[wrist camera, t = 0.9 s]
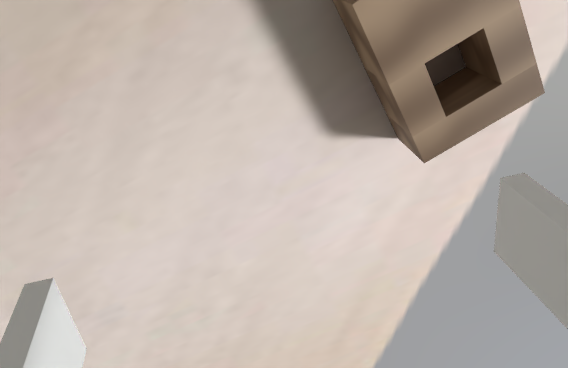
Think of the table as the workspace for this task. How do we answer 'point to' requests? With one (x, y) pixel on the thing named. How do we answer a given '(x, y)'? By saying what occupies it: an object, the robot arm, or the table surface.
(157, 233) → the table surface
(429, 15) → the socket block
